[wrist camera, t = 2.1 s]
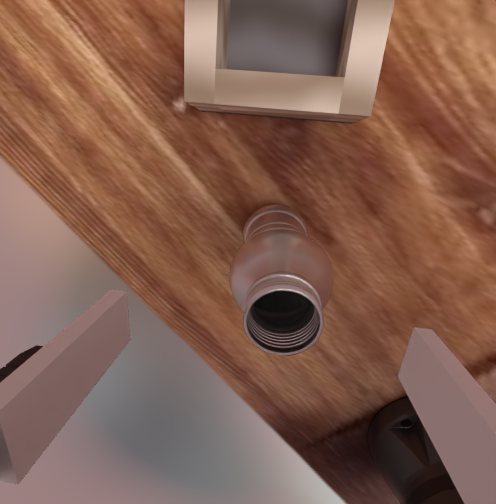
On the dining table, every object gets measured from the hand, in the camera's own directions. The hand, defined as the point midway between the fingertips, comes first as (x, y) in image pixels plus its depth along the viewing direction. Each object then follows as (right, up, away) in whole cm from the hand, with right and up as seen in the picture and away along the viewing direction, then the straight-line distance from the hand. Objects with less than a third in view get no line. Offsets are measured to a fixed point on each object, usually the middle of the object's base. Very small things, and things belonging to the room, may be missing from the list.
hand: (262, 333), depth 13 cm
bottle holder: (+3, +24, +13) cm, 28 cm away
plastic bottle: (+2, +6, +19) cm, 20 cm away
